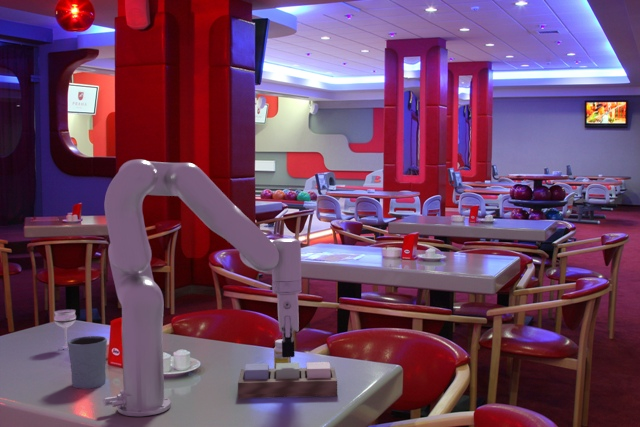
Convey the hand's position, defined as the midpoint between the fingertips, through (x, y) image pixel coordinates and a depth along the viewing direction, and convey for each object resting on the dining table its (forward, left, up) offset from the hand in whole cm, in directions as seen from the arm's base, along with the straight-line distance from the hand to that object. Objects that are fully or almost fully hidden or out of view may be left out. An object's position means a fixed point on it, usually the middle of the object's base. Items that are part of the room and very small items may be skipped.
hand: (288, 356), depth 187 cm
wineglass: (-38, +78, -9) cm, 87 cm away
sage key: (0, 0, -6) cm, 6 cm away
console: (0, 0, -9) cm, 9 cm away
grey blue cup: (-42, +35, -9) cm, 56 cm away
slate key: (-7, +4, -6) cm, 10 cm away
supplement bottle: (+8, +17, -9) cm, 21 cm away
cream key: (+7, -4, -6) cm, 10 cm away
